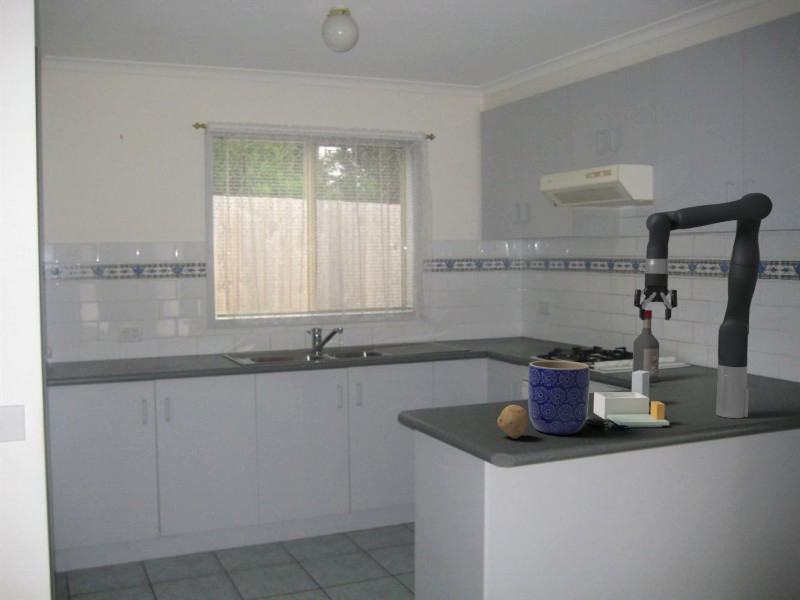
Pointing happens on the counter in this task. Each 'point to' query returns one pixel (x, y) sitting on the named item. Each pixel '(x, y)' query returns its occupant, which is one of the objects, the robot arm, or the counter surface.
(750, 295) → the robot arm
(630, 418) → the lid
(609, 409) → the tub
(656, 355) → the liquor
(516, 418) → the potato
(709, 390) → the counter surface
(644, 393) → the skincare box
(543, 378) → the planter
